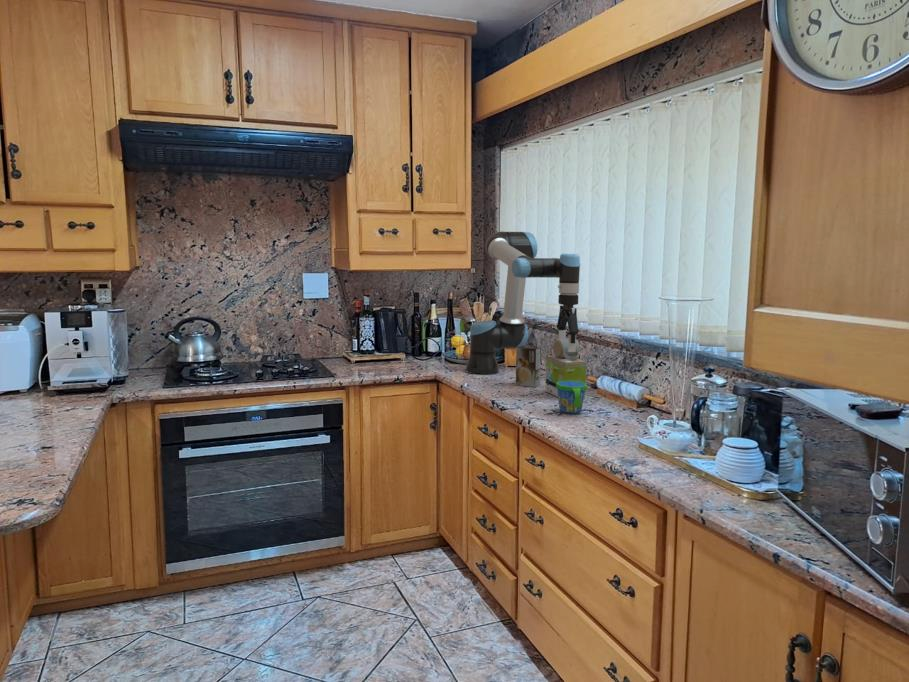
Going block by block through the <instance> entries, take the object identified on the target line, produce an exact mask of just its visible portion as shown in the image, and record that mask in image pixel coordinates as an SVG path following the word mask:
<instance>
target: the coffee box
mask: <svg viewBox="0 0 909 682" xmlns="http://www.w3.org/2000/svg"><path fill="white" fill-rule="evenodd" d="M541 348H542V347H540V346H526V345H523V346H519V347H517V348H515V349H516V350H515V353H516V354H515V356H516V357H515V386H518V385H519V386H520V387H529V388H530V387H531V388H538V387H539V386H541V366H542V365H541V363H542V359H541V358H542V352H541V351H542V349H541Z"/></svg>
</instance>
